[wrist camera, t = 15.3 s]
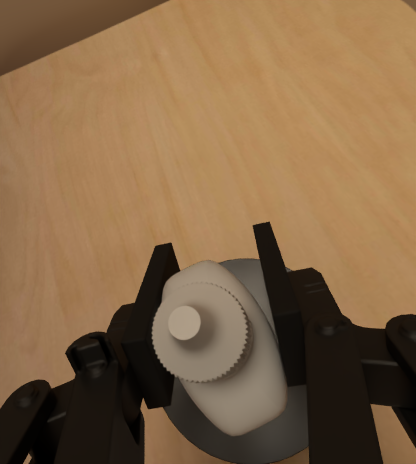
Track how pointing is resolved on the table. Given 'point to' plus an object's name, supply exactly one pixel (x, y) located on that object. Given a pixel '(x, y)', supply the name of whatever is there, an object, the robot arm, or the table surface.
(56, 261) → the table surface
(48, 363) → the table surface
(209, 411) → the eye dropper bottle
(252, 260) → the stand
